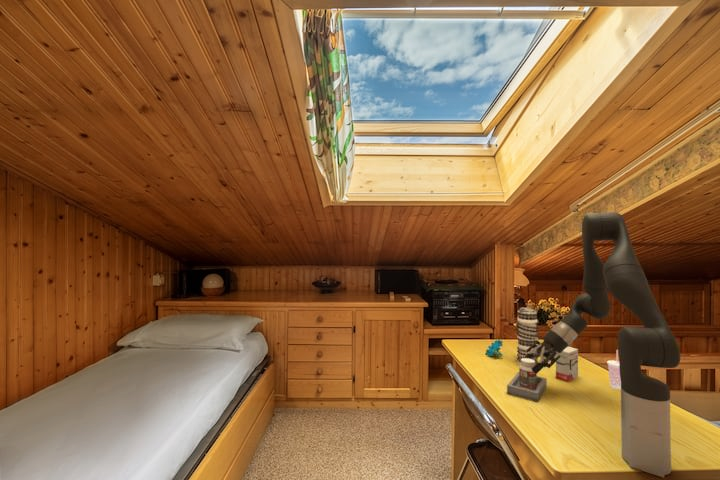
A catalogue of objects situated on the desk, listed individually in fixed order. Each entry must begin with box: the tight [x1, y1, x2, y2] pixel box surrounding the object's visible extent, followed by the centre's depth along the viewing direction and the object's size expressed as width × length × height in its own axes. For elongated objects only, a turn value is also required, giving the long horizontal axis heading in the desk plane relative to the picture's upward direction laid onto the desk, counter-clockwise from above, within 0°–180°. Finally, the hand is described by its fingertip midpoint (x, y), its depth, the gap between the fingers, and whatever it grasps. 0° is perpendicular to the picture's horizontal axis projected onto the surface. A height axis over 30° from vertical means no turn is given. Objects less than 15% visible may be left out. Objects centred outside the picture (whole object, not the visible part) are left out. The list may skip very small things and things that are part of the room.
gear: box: [485, 339, 503, 360], centre depth 158 cm, size 11×6×10 cm
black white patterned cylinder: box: [515, 306, 540, 366], centre depth 148 cm, size 9×9×25 cm
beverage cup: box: [606, 349, 621, 391], centre depth 123 cm, size 6×6×14 cm
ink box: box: [555, 345, 579, 383], centre depth 132 cm, size 8×5×12 cm, turn 123°
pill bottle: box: [518, 358, 538, 390], centre depth 121 cm, size 6×6×10 cm
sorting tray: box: [506, 371, 548, 403], centre depth 121 cm, size 16×10×3 cm, turn 141°
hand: (528, 367), depth 121 cm, fingers open, 8 cm apart
